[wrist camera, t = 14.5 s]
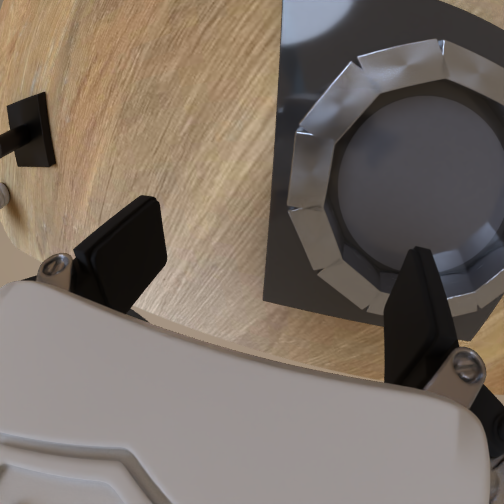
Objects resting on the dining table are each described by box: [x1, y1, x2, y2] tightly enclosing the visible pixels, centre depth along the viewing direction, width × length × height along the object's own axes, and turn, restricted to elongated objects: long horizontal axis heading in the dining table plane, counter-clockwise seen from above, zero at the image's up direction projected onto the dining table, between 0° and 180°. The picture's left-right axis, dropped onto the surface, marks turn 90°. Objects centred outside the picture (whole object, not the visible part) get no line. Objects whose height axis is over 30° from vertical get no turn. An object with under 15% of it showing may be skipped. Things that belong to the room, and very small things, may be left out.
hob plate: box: [263, 0, 504, 341], centre depth 15 cm, size 24×20×1 cm
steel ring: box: [287, 38, 504, 317], centre depth 13 cm, size 17×17×3 cm
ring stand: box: [0, 92, 56, 167], centre depth 21 cm, size 8×8×5 cm
